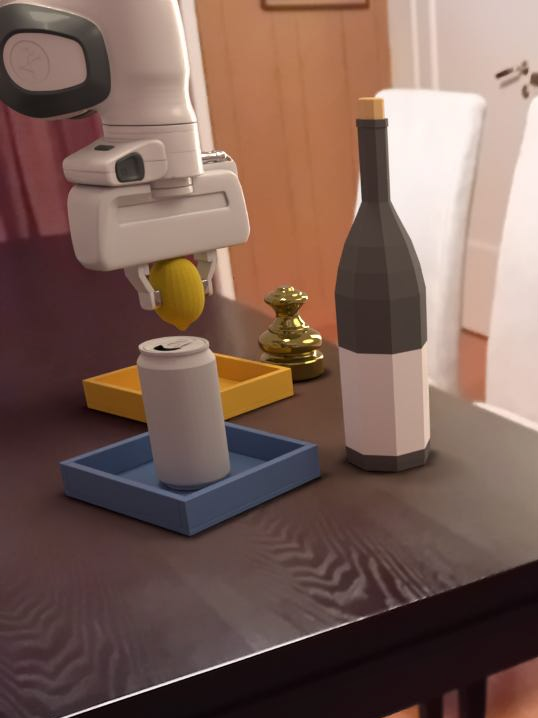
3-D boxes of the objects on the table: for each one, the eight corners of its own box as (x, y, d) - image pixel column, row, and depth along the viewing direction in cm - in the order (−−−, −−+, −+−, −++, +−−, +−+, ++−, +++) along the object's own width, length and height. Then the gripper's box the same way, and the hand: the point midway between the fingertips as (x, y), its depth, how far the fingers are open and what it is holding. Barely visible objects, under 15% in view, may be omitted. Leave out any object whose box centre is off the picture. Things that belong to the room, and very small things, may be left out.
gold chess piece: (288, 362, 124) (280, 277, 119) (337, 370, 121) (330, 283, 116) (248, 377, 119) (237, 289, 114) (298, 386, 115) (289, 295, 110)
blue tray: (65, 495, 88) (58, 462, 86) (200, 444, 99) (196, 414, 97) (190, 536, 80) (184, 501, 79) (320, 476, 91) (318, 444, 90)
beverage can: (142, 486, 88) (116, 347, 82) (190, 462, 93) (169, 330, 87) (200, 498, 86) (178, 356, 80) (246, 473, 91) (229, 338, 85)
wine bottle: (401, 478, 91) (384, 101, 75) (329, 463, 94) (298, 99, 79) (447, 451, 97) (440, 97, 81) (377, 437, 100) (358, 95, 85)
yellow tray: (87, 407, 109) (81, 380, 107) (196, 373, 120) (192, 348, 119) (187, 433, 101) (182, 404, 100) (293, 395, 113) (291, 368, 111)
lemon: (219, 330, 107) (209, 250, 103) (174, 340, 104) (161, 258, 99) (190, 322, 110) (179, 244, 106) (145, 331, 107) (132, 251, 103)
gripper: (211, 146, 107) (229, 282, 114) (46, 163, 93) (77, 317, 100) (254, 149, 104) (269, 288, 111) (90, 167, 90) (119, 325, 97)
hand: (177, 302), depth 105 cm, fingers closed on lemon, 5 cm apart
